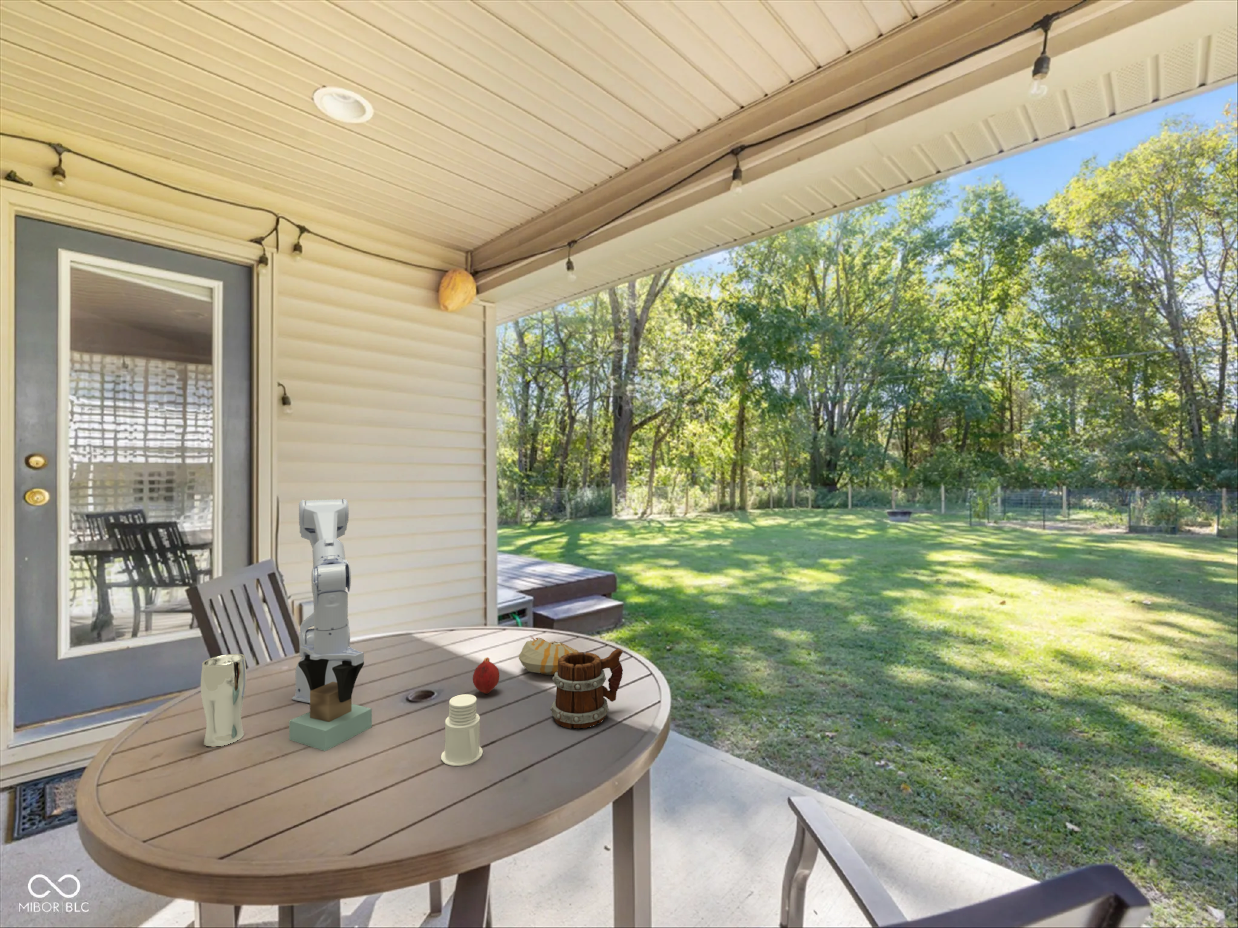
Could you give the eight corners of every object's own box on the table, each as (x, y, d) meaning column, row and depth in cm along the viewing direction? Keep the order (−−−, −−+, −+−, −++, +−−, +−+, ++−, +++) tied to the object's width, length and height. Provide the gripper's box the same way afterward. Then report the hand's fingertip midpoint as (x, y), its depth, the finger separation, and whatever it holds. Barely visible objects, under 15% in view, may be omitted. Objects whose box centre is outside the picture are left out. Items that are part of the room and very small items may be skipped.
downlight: (432, 754, 96) (433, 698, 96) (468, 740, 101) (469, 686, 101) (454, 773, 90) (455, 714, 90) (491, 758, 95) (492, 701, 95)
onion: (492, 699, 119) (492, 663, 119) (468, 697, 120) (468, 661, 120) (503, 689, 125) (503, 654, 125) (480, 687, 126) (480, 652, 126)
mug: (541, 708, 114) (553, 636, 115) (605, 710, 118) (616, 641, 119) (552, 733, 103) (564, 653, 104) (622, 735, 107) (634, 658, 108)
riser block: (289, 741, 102) (289, 720, 102) (337, 719, 111) (337, 699, 111) (325, 753, 98) (325, 730, 98) (371, 728, 107) (371, 708, 107)
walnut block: (310, 717, 103) (310, 690, 103) (332, 706, 108) (332, 681, 108) (329, 721, 101) (329, 694, 101) (351, 710, 106) (351, 685, 106)
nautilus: (509, 661, 145) (563, 656, 150) (525, 685, 125) (587, 679, 130) (510, 630, 145) (564, 627, 151) (526, 650, 126) (588, 645, 131)
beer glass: (255, 733, 104) (255, 655, 105) (218, 751, 98) (218, 667, 98) (229, 728, 107) (229, 651, 107) (191, 745, 100) (191, 663, 100)
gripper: (285, 628, 104) (285, 700, 103) (341, 636, 98) (341, 711, 98) (317, 618, 110) (318, 686, 110) (372, 625, 105) (372, 696, 105)
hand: (331, 697), depth 104 cm, fingers open, 7 cm apart
